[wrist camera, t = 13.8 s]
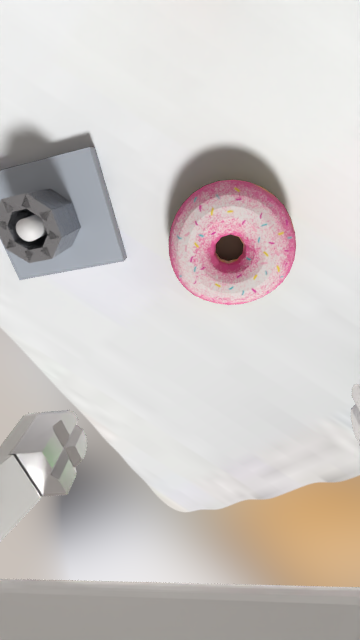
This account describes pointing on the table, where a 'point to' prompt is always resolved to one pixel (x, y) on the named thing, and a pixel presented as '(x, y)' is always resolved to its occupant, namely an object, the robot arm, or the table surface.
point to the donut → (239, 220)
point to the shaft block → (90, 205)
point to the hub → (55, 218)
